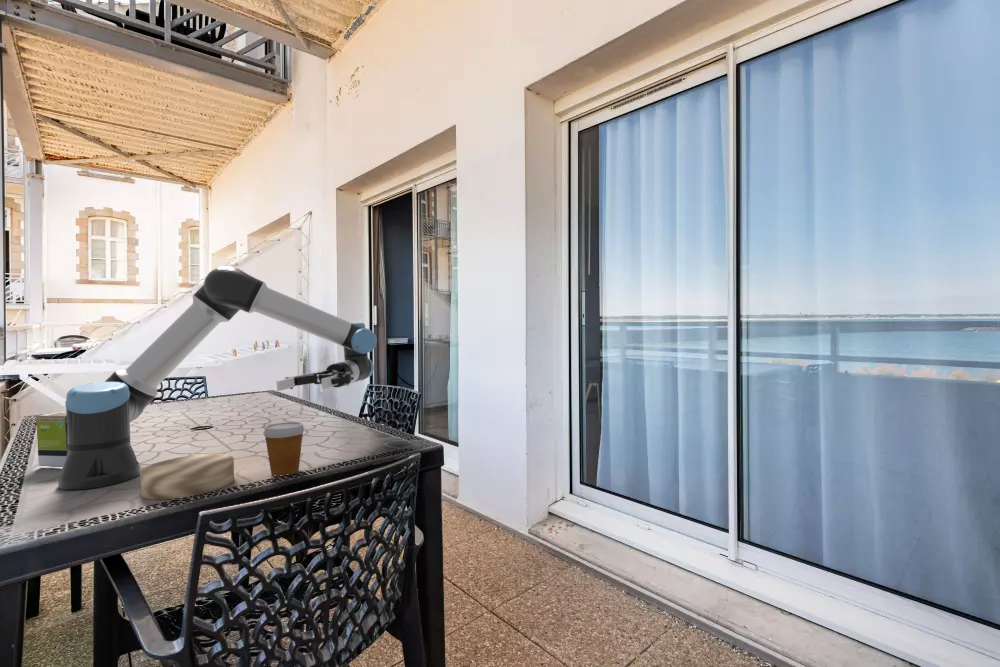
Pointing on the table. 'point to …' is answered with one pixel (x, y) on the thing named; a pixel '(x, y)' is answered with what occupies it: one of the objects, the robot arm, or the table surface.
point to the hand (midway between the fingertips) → (300, 384)
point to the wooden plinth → (187, 476)
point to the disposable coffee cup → (284, 447)
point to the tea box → (52, 439)
